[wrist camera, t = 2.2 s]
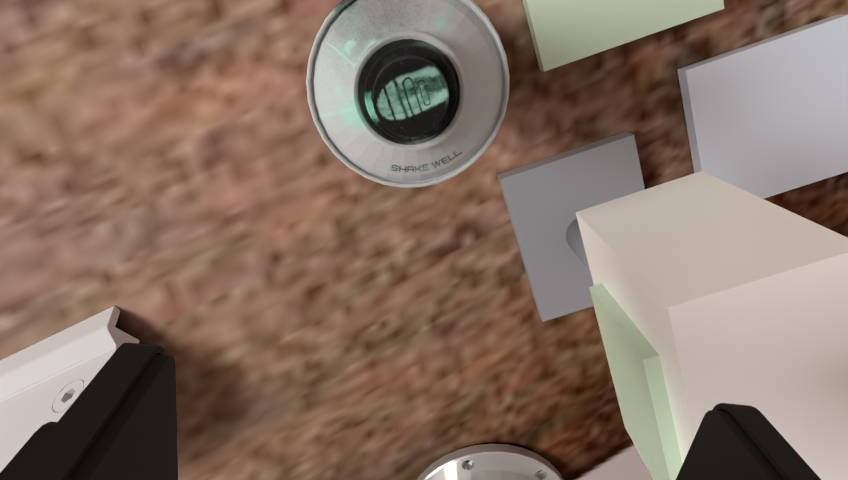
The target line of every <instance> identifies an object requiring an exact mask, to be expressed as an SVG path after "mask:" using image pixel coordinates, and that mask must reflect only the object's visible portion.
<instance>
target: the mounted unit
mask: <svg viewBox="0 0 848 480" xmlns="http://www.w3.org/2000/svg"><path fill="white" fill-rule="evenodd" d="M497 177H498V180H499V183H500V187H501V190H502V194H503V197H504V200H505V204H506V207H507V210H508V214H509V217H510V220H511V224H512V227H513V230H514V234H515V237H516V240H517V244H518V247H519V250H520V254H521V257H522V260H523V264H524V267H525V270H526V274H527V277H528V281H529V284H530V287H531V291H532V294H533V297H534V301H535V304H536V307H537V311H538V314H539V316H540V318H541V320H542V322H544V321H547V320H550V319H553V318H557V317H560V316H563V315H566V314H569V313H573V312H576V311H579V310H582V309H586V308H589V307H592V306H594V308H595V312H596V316H597V320H598V324H599V328H600V332H601V336H602V340H603V343H604V347H605V351H606V355H607V359H608V363H609V367H610V371H611V375H612V379H613V383H614V386H615V390H616V394H617V398H618V402H619V406H620V410H621V414H622V418H623V422H624V426H625V428H626V430H627V432H628V434H629V435H630V437H631V439H632V441H633V443H634V445H635V447H636V448H637V450H638V452H639V454H640V456H641V458H642V459H643V461H644V463H645V465H646V466H647V468H648V470H649V472H650V474H651V475H652V477H653V479H654V480H676V478H677V476H678V474H679V471H680V469H681V467H682V464H683V462H684V460H685V458H686V455H687V453H688V451H689V449H690V446H691V444H692V442H693V440H694V437H695V435H696V433H697V431H698V428H699V426H700V424H701V422H702V419H703V417H704V415H705V414H706V412H708V411H709V410H712V409H713V408H714V406H716V405H717V404H719V403H729V404H739V405H748V406H753V407H755V408H757V409H758V410H759V411H760V412H761V413H762V414H763V415H764V416H765V417H766V418H767V420H768V421H769V422H770V423H771V424H772V425H773V426H774V427H775V429H776V430H777V431H778V432H779V433H780V434H781V435H782V436H783V437H784V439H785V440H786V441H787V442H788V443H789V444H790V445H791V446H792V448H793V449H794V450H795V451H796V452H797V453H798V454H799V455H800V456H801V458H802V459H803V460H804V461H805V462H806V463H807V464H808V465H809V467H810V468H811V469H812V470H813V471H814V472H815V473H816V474H817V476H818V477H819V478H820V479H821V480H848V238H847V237H845V236H843V235H841V234H839V233H836V232H834V231H832V230H830V229H828V228H825V227H823V226H821V225H819V224H817V223H815V222H812V221H810V220H808V219H806V218H804V217H801V216H799V215H797V214H795V213H793V212H790V211H788V210H786V209H784V208H782V207H780V206H777V205H775V204H773V203H771V202H769V201H766V200H764V199H762V198H760V197H758V196H755V195H753V194H751V193H749V192H747V191H745V190H742V189H740V188H738V187H736V186H734V185H731V184H729V183H727V182H725V181H723V180H720V179H718V178H716V177H714V176H712V175H710V174H707V173H705V172H703V171H700V172H697V173H694V174H691V175H688V176H685V177H682V178H679V179H676V180H672V181H669V182H666V183H663V184H660V185H657V186H654V187H651V188H648V189H645V187H644V182H643V177H642V172H641V167H640V162H639V157H638V152H637V147H636V142H635V137H634V134H631V133H629V132H627V131H625V132H622V133H619V134H616V135H613V136H610V137H607V138H604V139H601V140H598V141H596V142H593V143H590V144H587V145H584V146H581V147H578V148H575V149H572V150H569V151H566V152H563V153H560V154H557V155H554V156H551V157H548V158H545V159H542V160H539V161H536V162H533V163H530V164H527V165H524V166H521V167H518V168H515V169H512V170H509V171H507V172H504V173H501V174H498V175H497Z"/></svg>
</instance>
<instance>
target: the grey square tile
mask: <svg viewBox="0 0 848 480" xmlns="http://www.w3.org/2000/svg"><path fill="white" fill-rule="evenodd" d="M677 71H678V77H679V83H680V89H681V95H682V101H683V107H684V113H685V119H686V125H687V131H688V137H689V144H690V150H691V156H692V162H693V168H694V173H697V172H700V171H703V172H705V173H707V174H710V175H712V176H714V177H716V178H718V179H720V180H723V181H725V182H727V183H729V184H731V185H734V186H736V187H738V188H740V189H742V190H745V191H747V192H749V193H751V194H753V195H755V196H758V197H760V198H762V199H764V198H767V197H770V196H773V195H777V194H780V193H783V192H786V191H789V190H792V189H795V188H798V187H802V186H805V185H808V184H811V183H814V182H817V181H820V180H823V179H827V178H830V177H833V176H836V175H839V174H842V173H845V172H848V14H845V15H834V16H831V17H828V18H826V19H823V20H820V21H817V22H814V23H811V24H808V25H805V26H802V27H799V28H796V29H794V30H791V31H788V32H785V33H782V34H779V35H776V36H773V37H770V38H767V39H764V40H762V41H759V42H756V43H753V44H750V45H747V46H744V47H741V48H738V49H735V50H733V51H730V52H727V53H724V54H721V55H718V56H715V57H712V58H709V59H706V60H703V61H701V62H698V63H695V64H692V65H689V66H686V67H683V68H680V69H677Z"/></svg>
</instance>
